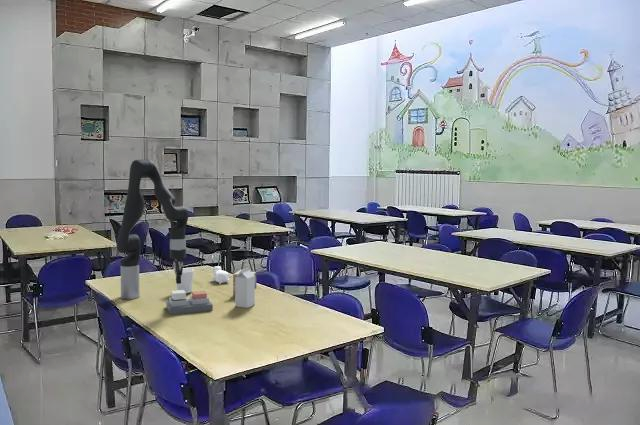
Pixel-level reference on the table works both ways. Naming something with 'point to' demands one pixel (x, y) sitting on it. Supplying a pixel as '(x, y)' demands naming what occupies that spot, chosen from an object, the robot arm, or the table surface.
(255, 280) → the gray gift bag
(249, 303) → the milk carton
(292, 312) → the table surface
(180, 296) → the ivory key
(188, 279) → the cup
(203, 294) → the red key
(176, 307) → the key base
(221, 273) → the white animal figurine
